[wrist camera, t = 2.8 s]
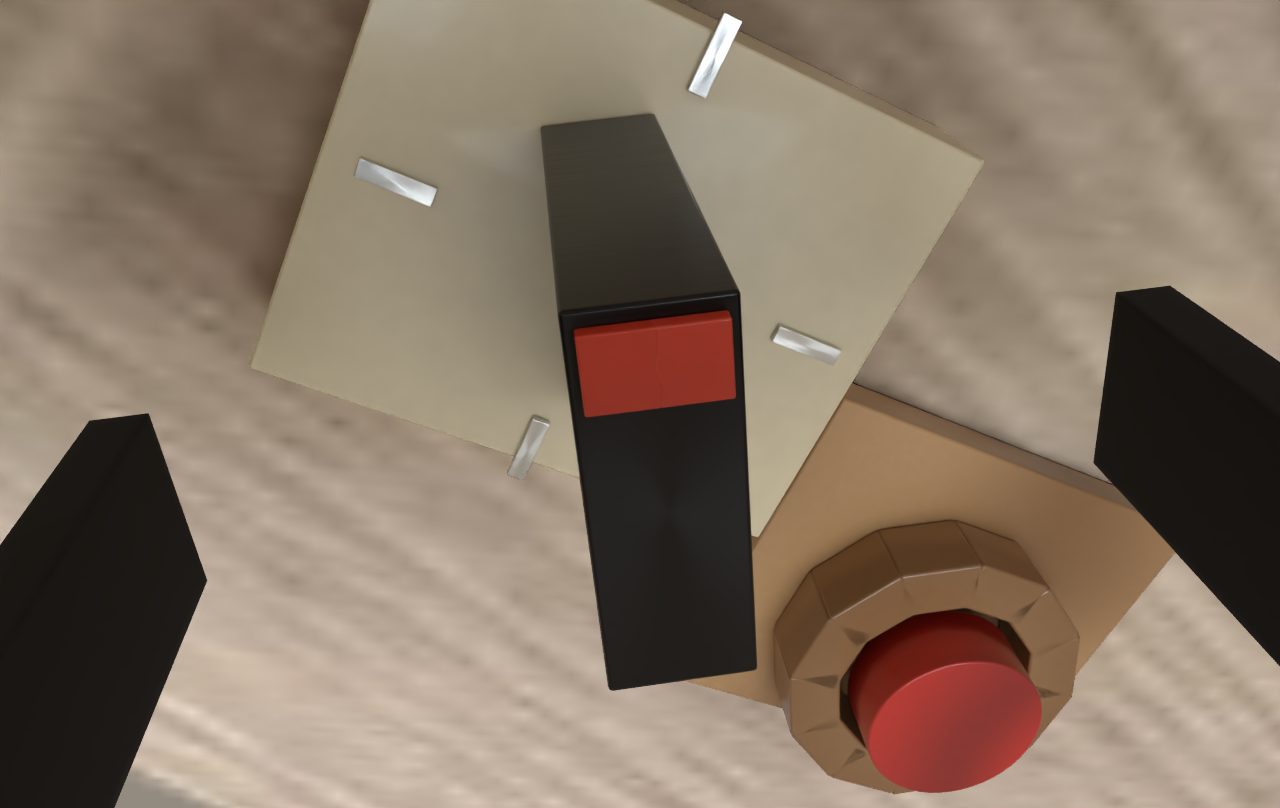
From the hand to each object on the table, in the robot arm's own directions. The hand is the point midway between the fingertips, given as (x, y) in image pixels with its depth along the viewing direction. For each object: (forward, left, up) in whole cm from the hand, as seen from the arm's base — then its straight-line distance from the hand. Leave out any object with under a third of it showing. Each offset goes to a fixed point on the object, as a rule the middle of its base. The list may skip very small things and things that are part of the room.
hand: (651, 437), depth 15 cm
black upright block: (0, 0, -6) cm, 6 cm away
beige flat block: (0, 0, -8) cm, 8 cm away
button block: (+11, -5, -8) cm, 15 cm away
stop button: (+11, -6, -6) cm, 14 cm away
